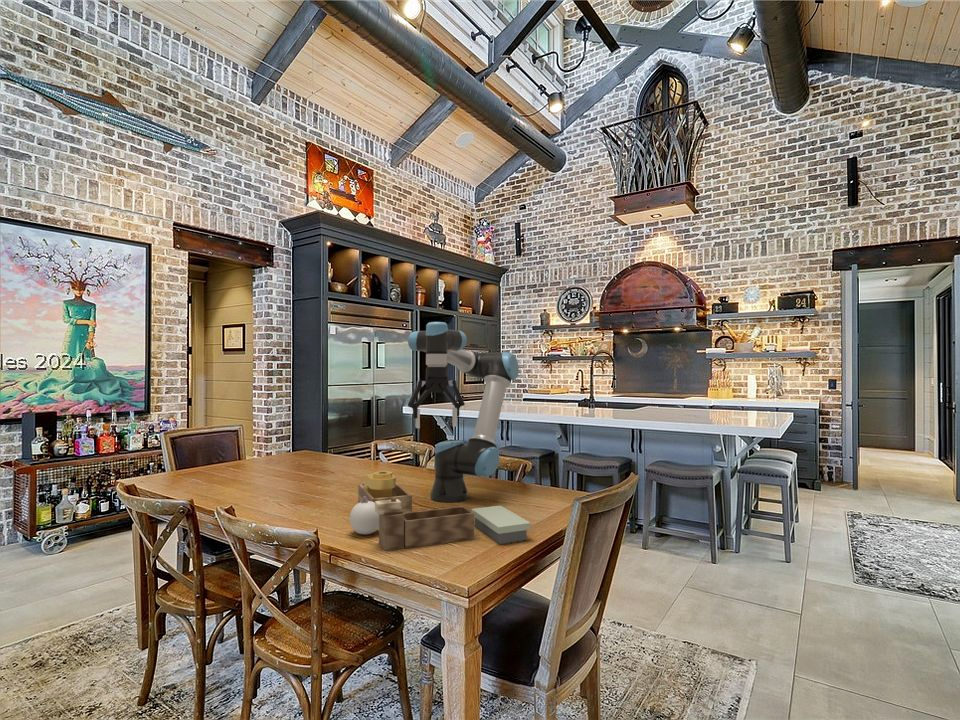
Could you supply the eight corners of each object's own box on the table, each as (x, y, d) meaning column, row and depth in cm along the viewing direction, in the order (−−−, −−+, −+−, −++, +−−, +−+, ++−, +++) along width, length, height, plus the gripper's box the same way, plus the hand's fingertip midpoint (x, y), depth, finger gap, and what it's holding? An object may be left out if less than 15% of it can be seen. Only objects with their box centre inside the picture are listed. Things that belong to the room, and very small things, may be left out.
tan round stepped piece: (398, 519, 180) (398, 474, 180) (372, 523, 176) (372, 476, 176) (385, 505, 198) (385, 464, 198) (361, 508, 194) (361, 466, 195)
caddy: (394, 503, 200) (394, 480, 200) (411, 521, 177) (411, 495, 178) (358, 507, 195) (358, 483, 195) (371, 526, 172) (371, 499, 172)
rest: (498, 522, 177) (498, 512, 177) (526, 540, 158) (526, 529, 158) (474, 525, 173) (474, 515, 173) (500, 544, 155) (500, 532, 155)
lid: (530, 529, 158) (530, 522, 158) (498, 533, 154) (498, 527, 154) (500, 511, 178) (500, 505, 178) (471, 514, 174) (471, 508, 174)
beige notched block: (397, 508, 157) (397, 495, 157) (401, 512, 153) (401, 498, 153) (374, 511, 154) (375, 497, 154) (377, 514, 150) (377, 501, 150)
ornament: (352, 540, 158) (352, 501, 158) (347, 530, 167) (347, 494, 168) (385, 536, 162) (385, 498, 162) (378, 527, 171) (378, 491, 172)
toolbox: (463, 530, 168) (463, 497, 168) (474, 539, 160) (474, 504, 160) (378, 541, 157) (378, 506, 157) (385, 551, 149) (385, 514, 149)
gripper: (465, 366, 187) (465, 424, 187) (399, 366, 178) (398, 427, 177) (473, 366, 181) (473, 426, 180) (404, 366, 171) (404, 429, 170)
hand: (436, 427), depth 179 cm, fingers open, 13 cm apart
